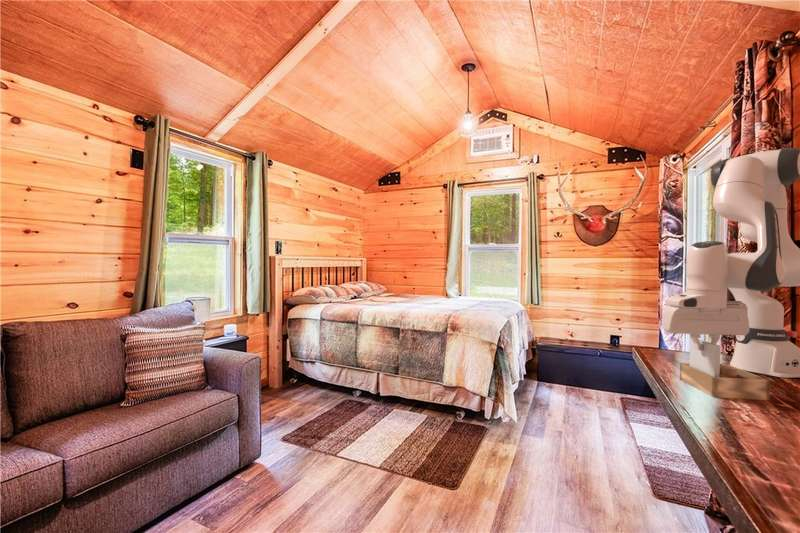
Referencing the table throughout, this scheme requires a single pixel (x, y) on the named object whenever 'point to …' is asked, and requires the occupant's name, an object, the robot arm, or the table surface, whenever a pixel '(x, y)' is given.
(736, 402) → the table surface
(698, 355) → the sheet
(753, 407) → the table surface
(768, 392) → the rack
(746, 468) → the table surface
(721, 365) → the offcut top
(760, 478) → the table surface
